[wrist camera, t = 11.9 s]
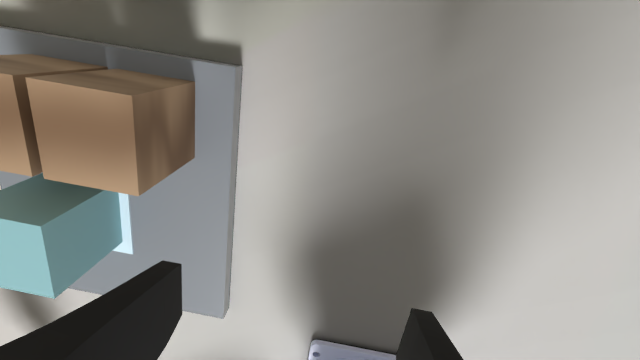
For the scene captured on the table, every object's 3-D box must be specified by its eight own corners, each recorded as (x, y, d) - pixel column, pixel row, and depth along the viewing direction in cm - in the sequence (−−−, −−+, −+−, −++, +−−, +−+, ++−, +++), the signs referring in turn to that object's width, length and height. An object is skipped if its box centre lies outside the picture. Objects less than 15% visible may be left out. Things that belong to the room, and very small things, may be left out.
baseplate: (228, 307, 23) (222, 320, 22) (36, 270, 24) (21, 279, 23) (242, 65, 17) (234, 67, 16) (-19, 22, 18) (-42, 21, 17)
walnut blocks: (194, 157, 18) (138, 196, 13) (44, 130, 18) (-60, 159, 14) (195, 81, 17) (131, 95, 12) (31, 54, 17) (-92, 57, 12)
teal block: (122, 241, 21) (54, 298, 16) (60, 229, 21) (-25, 282, 16) (117, 182, 19) (40, 226, 14) (50, 169, 19) (-47, 209, 15)
